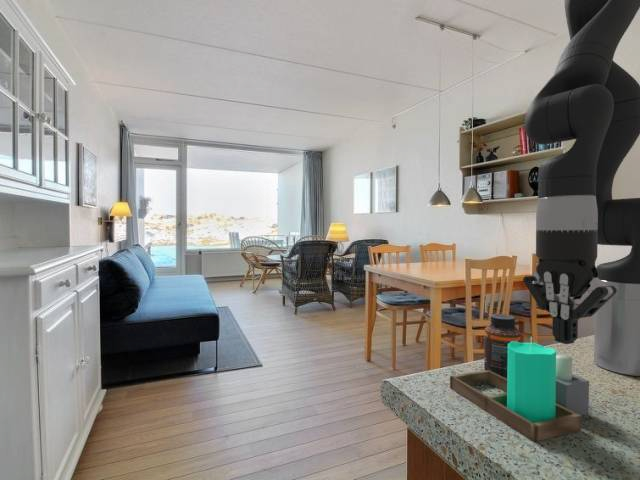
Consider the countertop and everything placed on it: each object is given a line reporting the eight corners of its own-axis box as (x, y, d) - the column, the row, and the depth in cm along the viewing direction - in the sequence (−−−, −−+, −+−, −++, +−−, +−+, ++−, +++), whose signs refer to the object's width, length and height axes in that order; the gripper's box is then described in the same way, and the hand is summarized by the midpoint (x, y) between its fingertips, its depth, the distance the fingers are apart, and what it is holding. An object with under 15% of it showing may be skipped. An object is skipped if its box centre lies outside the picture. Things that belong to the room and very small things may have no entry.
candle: (564, 433, 46) (565, 344, 46) (515, 429, 47) (516, 342, 47) (543, 410, 52) (544, 331, 52) (500, 407, 53) (501, 330, 53)
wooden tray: (488, 380, 63) (488, 369, 62) (580, 429, 47) (581, 415, 47) (449, 387, 60) (450, 376, 60) (534, 442, 45) (534, 426, 44)
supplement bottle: (525, 384, 61) (526, 321, 61) (489, 382, 62) (489, 319, 62) (513, 371, 67) (514, 313, 66) (480, 368, 68) (481, 311, 68)
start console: (558, 399, 56) (558, 368, 55) (588, 414, 51) (589, 380, 51) (536, 404, 54) (537, 372, 54) (565, 419, 50) (566, 385, 50)
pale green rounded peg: (560, 391, 54) (561, 353, 54) (575, 398, 52) (576, 358, 52) (549, 393, 53) (550, 355, 53) (564, 400, 51) (564, 360, 51)
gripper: (634, 227, 47) (632, 353, 47) (543, 227, 59) (542, 327, 60) (595, 228, 44) (593, 361, 45) (509, 228, 57) (508, 332, 57)
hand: (564, 342), depth 52 cm, fingers closed
